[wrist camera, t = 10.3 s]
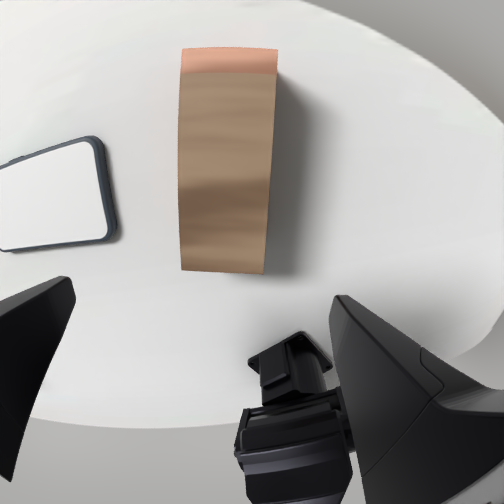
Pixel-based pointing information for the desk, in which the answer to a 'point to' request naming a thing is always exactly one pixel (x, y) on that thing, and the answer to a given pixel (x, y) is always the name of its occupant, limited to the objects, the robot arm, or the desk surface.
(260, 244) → the wooden block
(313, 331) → the desk surface
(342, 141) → the desk surface
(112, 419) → the desk surface
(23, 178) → the phone case
